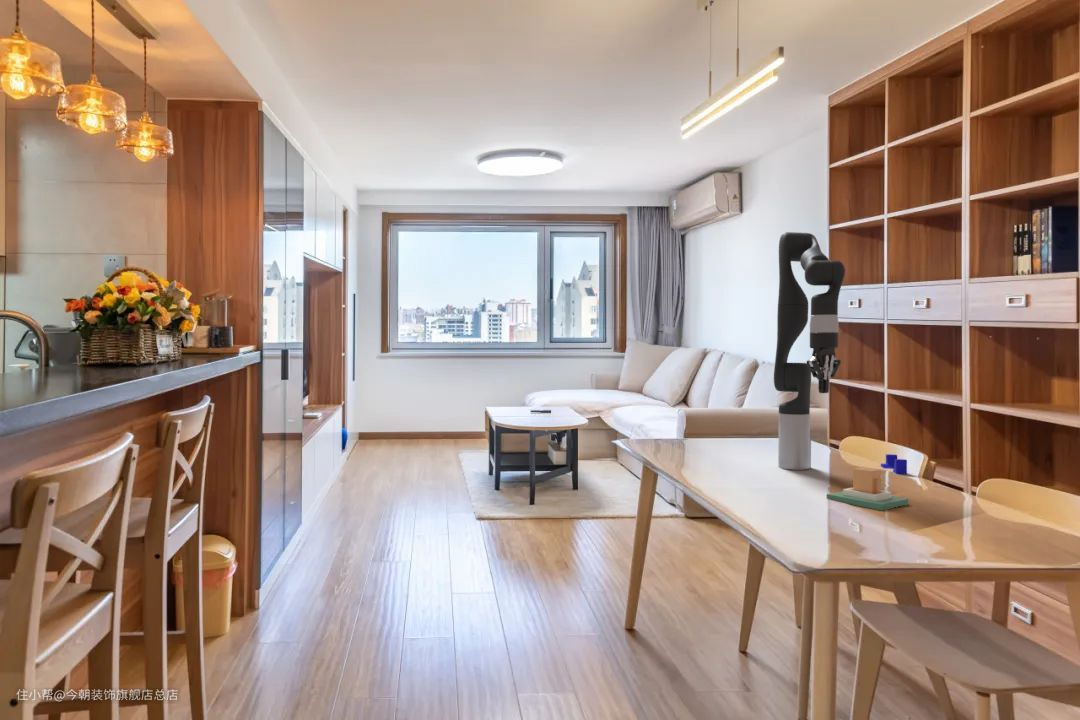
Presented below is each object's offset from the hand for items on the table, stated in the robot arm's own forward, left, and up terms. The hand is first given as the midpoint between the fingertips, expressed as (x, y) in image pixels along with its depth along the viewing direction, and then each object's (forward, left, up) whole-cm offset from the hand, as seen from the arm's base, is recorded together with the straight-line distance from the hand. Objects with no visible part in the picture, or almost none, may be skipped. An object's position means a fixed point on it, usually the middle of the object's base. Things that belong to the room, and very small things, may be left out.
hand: (823, 392), depth 202 cm
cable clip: (-38, -1, -27) cm, 47 cm away
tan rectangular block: (+7, +17, -26) cm, 32 cm away
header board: (+7, +18, -27) cm, 33 cm away
